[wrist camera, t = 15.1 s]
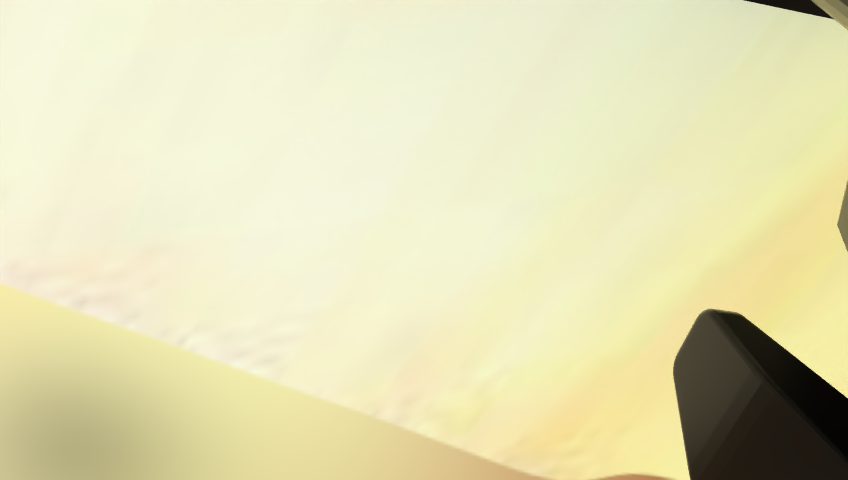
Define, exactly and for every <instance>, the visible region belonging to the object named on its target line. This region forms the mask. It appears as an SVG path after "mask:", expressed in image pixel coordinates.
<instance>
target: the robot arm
mask: <svg viewBox="0 0 848 480" xmlns="http://www.w3.org/2000/svg"><path fill="white" fill-rule="evenodd" d="M745 1H750V2H754V3H759V4H764V5H769V6H773V7H778V8H783V9H788V10H793V11H797V12H802V13H807V14H812V15H816V16H821V17H826V18H831V19H835V20H836V21H837V22H839V23H840V24H841V25H842V26H844V27H845V28H846V29H847V30H848V0H745ZM837 225H838V228H839V230H840V233H841V236H842V238H843V241H844V243H845V246H846V249H847V251H848V181H847V185H846V189H845V193H844V197H843V202H842V206H841V211H840V215H839V220H838V224H837ZM673 376H674V383H675V389H676V396H677V402H678V408H679V414H680V420H681V426H682V433H683V439H684V445H685V451H686V457H687V463H688V470H689V475H690V480H848V398H846V397H845V396H844V395H843V394H841V393H840V392H839V391H838V390H836V389H835V388H834V387H833V386H831V385H830V384H829V383H827V382H826V381H825V380H824V379H822V378H821V377H820V376H819V375H817V374H816V373H815V372H814V371H812V370H811V369H810V368H808V367H807V366H806V365H805V364H803V363H802V362H801V361H800V360H798V359H797V358H796V357H795V356H793V355H792V354H791V353H789V352H788V351H787V350H786V349H784V348H783V347H782V346H781V345H779V344H778V343H777V342H776V341H774V340H773V339H772V338H770V337H769V336H768V335H767V334H765V333H764V332H763V331H762V330H760V329H759V328H758V327H757V326H755V325H754V324H753V323H751V322H750V321H749V320H748V319H746V318H745V317H744V316H742V315H741V314H739V313H736V312H731V311H724V310H716V309H707V310H704V311H703V312H702V313H700V314H699V316H698V317H697V319H696V321H695V323H694V324H693V326H692V328H691V330H690V332H689V333H688V335H687V337H686V339H685V341H684V343H683V344H682V346H681V348H680V350H679V352H678V353H677V356H676V358H675V362H674V367H673Z"/></svg>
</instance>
